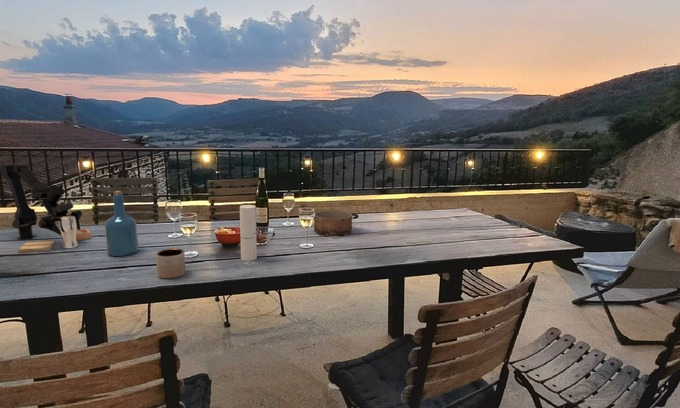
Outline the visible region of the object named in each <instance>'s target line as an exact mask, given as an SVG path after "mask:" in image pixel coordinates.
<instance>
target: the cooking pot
mask: <svg viewBox="0 0 680 408" xmlns="http://www.w3.org/2000/svg"><path fill="white" fill-rule="evenodd" d="M314 214H315V217H314V216H313V217H314V219H313V220H314V221H313V222H314V224H313V227H314V230H313V231H314V233H315V232H316V233H317V234H316V233H315V234H316V235H318V234H319V236H322V235H324V236H323V237H328V236H340V237H345V236H344V235H346V236H349V235H350V234H352V231H353V230H352V229H353V227H352V225H353V220H355V219H359V215H358V214H357V213H350V211H349V212H348V211H344V210H332V209H331V210H330V209H329V210H320V211H316V212H315V213H314ZM348 234H349V235H348Z"/></svg>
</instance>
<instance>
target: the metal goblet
mask: <svg viewBox="0 0 680 408" xmlns="http://www.w3.org/2000/svg"><path fill="white" fill-rule="evenodd" d="M58 225H59V226H58V228H59V230H60V231H61V233H62V234H61V237H62V241H63V244H62V248H64V249H73V248H77V247H78V245H79V244H78V241H76V231H77V230H78V229H77V225H76V219H75V216H64V217H60V218H59V221H58Z"/></svg>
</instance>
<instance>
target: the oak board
mask: <svg viewBox="0 0 680 408" xmlns="http://www.w3.org/2000/svg"><path fill="white" fill-rule="evenodd" d="M24 242H25V243H23V245H21V247H20V248H18V250H17V251H18V254H25V253H35V252H36V253H37V252H45V251H46V252H47V251H51V249H52V248H53V247H54V245H55V244H56V239H45V240H32V241H24Z"/></svg>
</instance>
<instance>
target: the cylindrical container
mask: <svg viewBox="0 0 680 408" xmlns="http://www.w3.org/2000/svg"><path fill="white" fill-rule="evenodd" d="M256 208H257V206H256V205H254V204H244V205H242V204H241V205H240V206H239V225H240V231H239V232H240V259H241V261H245V262H251V261H256V260H257V256H258V253H257V211H256Z"/></svg>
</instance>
